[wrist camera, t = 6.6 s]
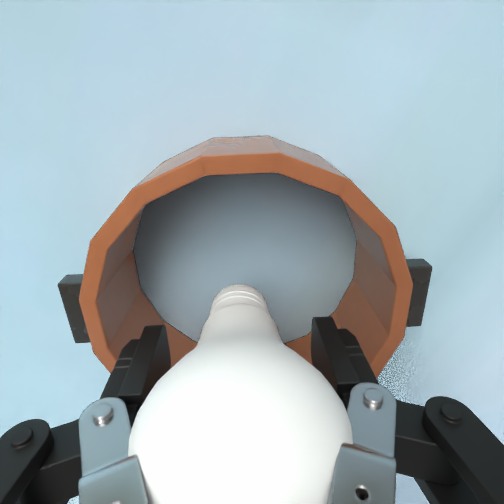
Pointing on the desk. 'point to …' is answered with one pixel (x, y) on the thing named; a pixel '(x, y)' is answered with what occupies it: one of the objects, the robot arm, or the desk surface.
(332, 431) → the lightbulb
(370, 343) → the copper pot
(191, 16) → the desk surface
